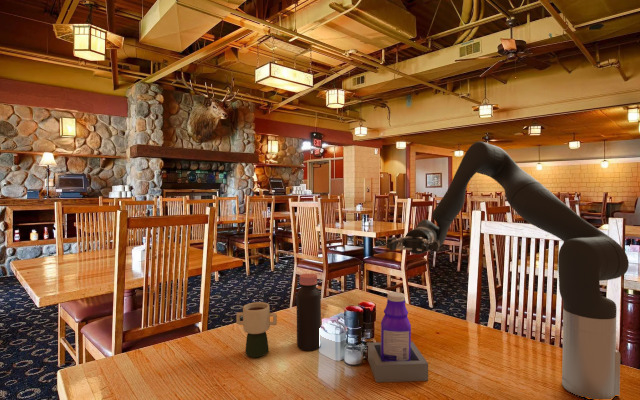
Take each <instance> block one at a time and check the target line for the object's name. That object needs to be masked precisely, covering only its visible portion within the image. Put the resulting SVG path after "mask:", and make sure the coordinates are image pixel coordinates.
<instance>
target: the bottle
mask: <svg viewBox="0 0 640 400" xmlns="http://www.w3.org/2000/svg"><path fill="white" fill-rule="evenodd" d="M383 313H384V315H383V317H382V320H380V321H381V322H380V342H381V360H382V362H390V361H410V350H411V341H412V339H411V338H412V337H411V335H412V328H411V327H412V325H411V322H410V320H409V318H408V314H409V311H408V310H407V307H406V301H405V293H402V292H399V291H395V292H394V291H391V292H388V293H387V301H386V306H385V308H384V309H383Z"/></svg>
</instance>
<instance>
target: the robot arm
mask: <svg viewBox="0 0 640 400" xmlns="http://www.w3.org/2000/svg"><path fill="white" fill-rule="evenodd" d="M454 173H455V174H454V176H453V178H452V180H451V182H450V185H449V186H448V188H447V191H446V192H445V194H444V195H443V196H442V198H441V199H440V201H439V202H438V204H437V205H436V207H435V208H434V209H433V211H432V213H431V216H432V219H433V220H434V221H435V222H436V224H437V225H436V224H435V223H433V222H432V221H431V220H429V219H422V220H420V222H418V223H417V225H416V226H415V228H413V229H411V230H410V231H408V232H407V233H406V235H404V237H398V238H397V237H396V236H392V237H390V238H387V239H386V249H389V250H390V251H392V252H393V251H395V250H400V251H406V250H407V251H408V252H410V253H412V254H415V255H422V254H425V253H426V252H427V253H429V252H431V251H433V252H435V253H436V252H439V250H440V247H442V245H443V244H444V243H445V240H446V238H447V235H448V231H449V229H450V227H451V225H452V223H453V221H454V220H455V219H457V216H458V215H459V213H460V212H461V211H462V209H463V208H464V204H465V201H466V200H465V199H466V193H467V192H466V191H467V187H468V184H469V182H470V181H471V179H472V178H473V177H474V176H475V174H481V175H484V176H487V177H489V178H491V179H492V180H493V181H495V182H496V183H498V184H499V186H501V187H502V189H503V190H504V195H505V199H506V201H507V202H508V205H509V206H510V207H511V208H512V210H514V211H515V212H516V213H517V214H518V216H520V218H522V219H523V220H524V221H526V222H527V223H529V224H530V225H532V226H534V227H536V228H537V229H540V230H542V231H544V232H546V233H548V234H550V235H552V236H554V237H556V238H558V239H560V240H561V241H563V243H562V245H561V246H560V247H559V251H558V256H557V265H558V266H557V268H558V269H557V270H558V290H559V294H560V297H561V299H562V303H563V305H562V309H563V310H562V358H561V359H562V363H561V364H562V368H561V371H562V372H561V373H562V374H561V385H562V387H563V388H564V389H565V390H566V391H568V393H570V392H571V393H570V394H572V393H573V394H572V395H574V394H575V395H574V396H576V395H578V396H577V397H579V396H583V397H588V398H592V399H611V398H613V397H614V396H615V395H619V396H620V395H621V394H620V392H621V391H620V390H621V389H620V388H621V386H620V385H621V383H620V382H621V353H620V351H619V350H617V311H618V309H617V304H616V303H615V301H614V300H613V299H610V298H608V297H606V296H602V294H601V284H600V281H609V280H611V281H612V280H616V279H619V278H620V277H623V276H624V275H625V274H626V273H628V269H629V264H630V263H629V258H628V254H627V253H626V251H625V250H624V248H623V247H622V246H621V245H620V243H618V242H617V241H616V240H615V239H613V238H612V237H610V236H608V235H607V234H606V233H604V232H603V231H602V230H600V229H598V228H597V227H595V226H594V225H592V224H591V223H589V222H588V221H586V220H585V219H584V218H583V217H581V216H580V215H579V214H577V213H576V212H575V211H574V210H573V209H571V208H570V207H569V206H568V205H567V204H565V202H563V201H562V200H561V199H559V198H558V196H556V195H555V194H554V193H553V192H551V190H550V189H548V188H547V187H546V186H545V185H544V184H542V183H541V182H540V181H538V180H537V179H536V178H535V177H534V176H533V175H531V174H530V173H528V172H526V171H525V170H523V169H522V168H521V167H520V166H519V164H517V162H515V160H514V159H513V158H512V157H511V155H509V153H508V152H507V151H506V150H504V149H503V148H502V147H500V146H497V145H493V144H491V143H487V142H484V141H476V142H474V143H472V144H471V145H470V146H469V147H468V148H467V150H466V152H465V153H464V155H463V157H462V158H461V162H460V163H459V166H458V168H457V169H456V171H455V172H454Z"/></svg>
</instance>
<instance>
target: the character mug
mask: <svg viewBox="0 0 640 400" xmlns="http://www.w3.org/2000/svg"><path fill="white" fill-rule="evenodd" d="M241 317H242V320H241ZM271 317H272V321H271V319H270V318H271ZM277 321H278V317H277V313H275V312H271V311H270V304H269V303H267V302H262V301H258V302H257V301H256V302H251V303H247V304H244V305H243V307H242V311H241V312H239V311H238V312H237V313H236V324H237V325H242V328H243V332H245V333H246V341H245V342H246V343H245V355H246V356H249V357H251V358H258V357H262V356H265V355H267V354H268V352H269V341H268V334H267V332H268V330H269V329H270V326H276V325H277V323H278V322H277Z"/></svg>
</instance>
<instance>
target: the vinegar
mask: <svg viewBox="0 0 640 400" xmlns="http://www.w3.org/2000/svg"><path fill="white" fill-rule="evenodd" d="M317 285H318V275H317V274H316V273H302V274H300V275H299V286H300V288H299V289H298V291H297V292H296V295H295V296H296V297H295V298H296V299H295V300H296V346H297V348H298V349H299V350H301V351H304V352H305V351H306V352H311V351H316V350H318V349H320V347H319V328H320V327H321V328H322V307H321V306H322V304H321V303H322V298H321V296H322V294H321V292H320V291H319V289H318V288H317Z"/></svg>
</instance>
